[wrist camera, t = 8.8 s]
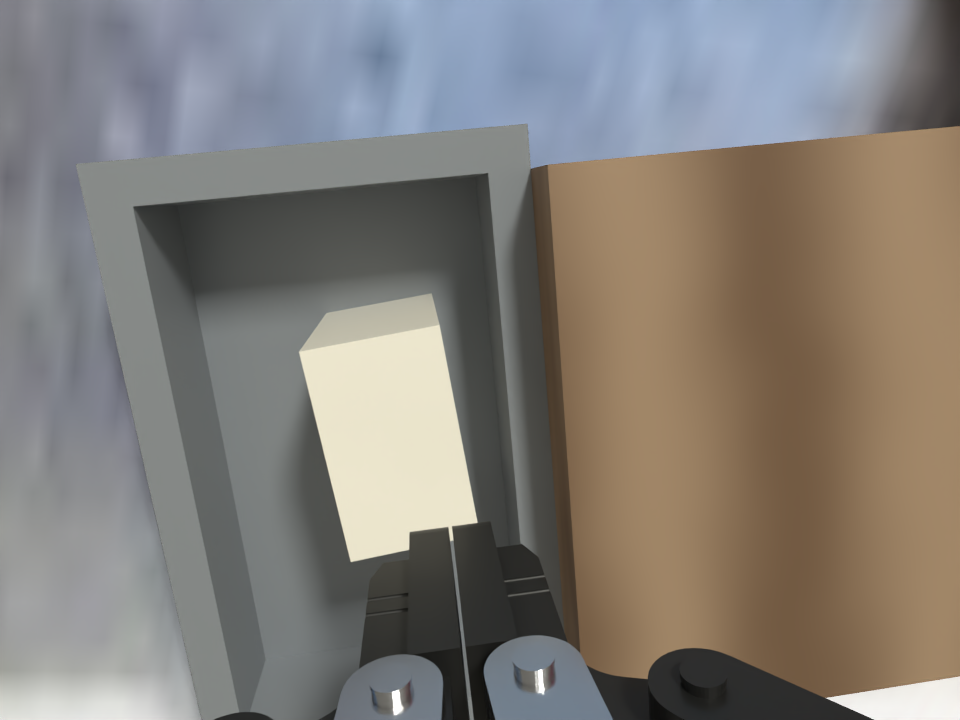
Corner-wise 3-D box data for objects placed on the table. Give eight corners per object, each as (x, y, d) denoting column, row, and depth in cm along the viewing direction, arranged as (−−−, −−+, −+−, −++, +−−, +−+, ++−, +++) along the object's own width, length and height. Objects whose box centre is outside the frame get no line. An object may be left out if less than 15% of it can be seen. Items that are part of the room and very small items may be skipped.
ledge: (865, 140, 21) (1045, 118, 15) (849, 556, 24) (990, 671, 18) (506, 174, 20) (547, 164, 14) (541, 601, 23) (586, 736, 17)
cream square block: (439, 325, 14) (299, 351, 14) (480, 535, 16) (350, 562, 16) (431, 293, 19) (326, 313, 19) (462, 455, 21) (364, 475, 20)
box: (503, 138, 20) (527, 123, 16) (543, 627, 23) (570, 712, 19) (144, 171, 19) (75, 164, 15) (245, 670, 23) (212, 768, 19)
